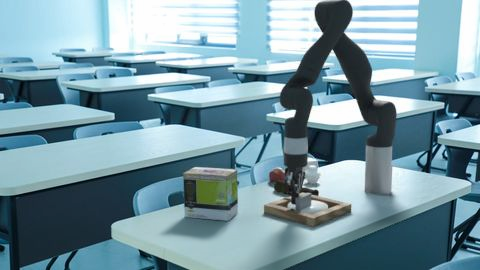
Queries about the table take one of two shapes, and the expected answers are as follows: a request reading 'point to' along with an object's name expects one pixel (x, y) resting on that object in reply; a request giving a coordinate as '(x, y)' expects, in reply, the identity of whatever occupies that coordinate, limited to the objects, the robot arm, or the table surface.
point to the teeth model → (278, 174)
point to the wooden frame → (312, 220)
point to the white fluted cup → (312, 174)
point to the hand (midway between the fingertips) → (295, 203)
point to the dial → (308, 204)
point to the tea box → (210, 193)
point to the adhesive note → (310, 162)
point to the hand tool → (282, 188)
